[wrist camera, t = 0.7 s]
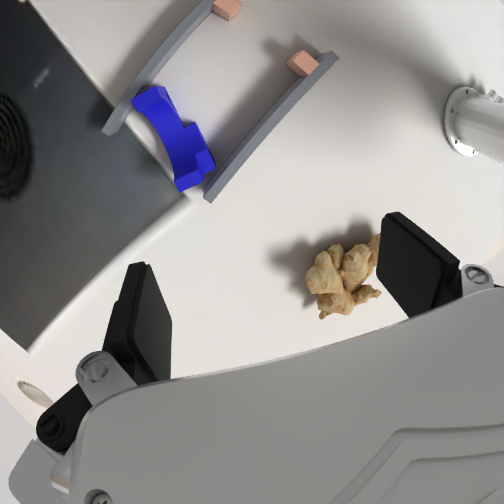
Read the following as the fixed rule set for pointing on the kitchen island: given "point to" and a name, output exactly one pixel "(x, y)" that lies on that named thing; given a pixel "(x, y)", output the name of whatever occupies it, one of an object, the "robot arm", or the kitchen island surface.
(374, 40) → the kitchen island surface
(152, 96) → the cable clip
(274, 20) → the kitchen island surface
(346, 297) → the ginger root
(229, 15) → the guide channel
